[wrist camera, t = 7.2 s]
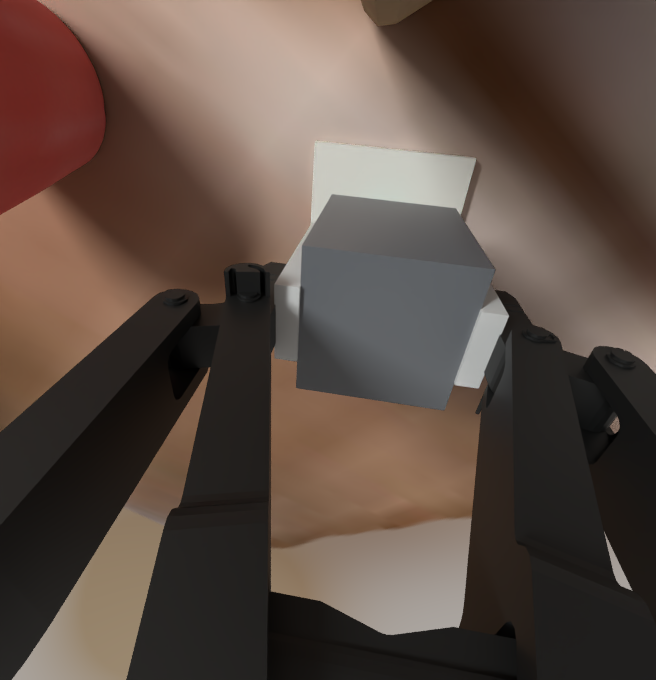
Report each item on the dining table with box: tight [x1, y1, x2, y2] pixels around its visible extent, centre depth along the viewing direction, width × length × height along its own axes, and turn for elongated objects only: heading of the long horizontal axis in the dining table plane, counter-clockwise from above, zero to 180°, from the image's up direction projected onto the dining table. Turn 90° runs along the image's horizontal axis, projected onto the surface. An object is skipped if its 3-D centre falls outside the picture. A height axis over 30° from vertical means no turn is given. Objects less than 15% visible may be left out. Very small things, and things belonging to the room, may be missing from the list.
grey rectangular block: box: [296, 194, 495, 410], centre depth 14 cm, size 5×5×7 cm
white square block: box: [311, 141, 476, 224], centre depth 18 cm, size 8×8×7 cm
